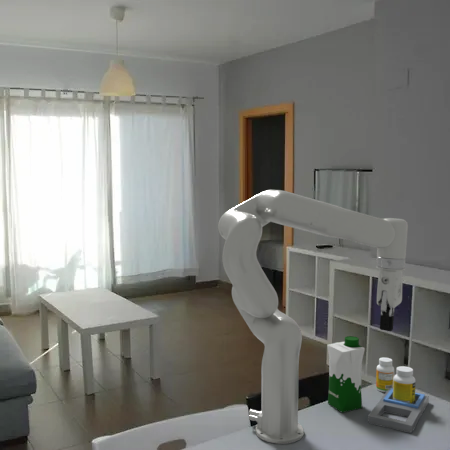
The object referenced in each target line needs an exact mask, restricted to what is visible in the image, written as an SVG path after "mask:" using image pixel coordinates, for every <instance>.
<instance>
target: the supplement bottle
mask: <svg viewBox="0 0 450 450" xmlns="http://www.w3.org/2000/svg"><path fill="white" fill-rule="evenodd" d="M375 374H376V375H375V389H376V390H377V391H378V392H382V393H386V392H387V391H388V389H389V388H390V389H392V388H393V378H394V376H395V367H394V366H393V359H392V358H389V357H386V356H385V357H383V356H382V357H380V358H379V359H378V364H377V366H376V373H375Z"/></svg>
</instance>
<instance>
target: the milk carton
mask: <svg viewBox="0 0 450 450" xmlns="http://www.w3.org/2000/svg"><path fill="white" fill-rule="evenodd" d="M327 351H328V358H329V363H328V365H329V366H328V367H329V370H328V373H329V374H328V375H329V376H328V394H327V395H328V397H327V404H328V405H330V406H332V407H333V408H334V409H335V410H338V411H339V412H340V413H346V412H350V410H351V411H354V410H355V409H356V410H359V408H360V409H362V408H363V403H362V402H363V400H362V378H363V377H362V375H363V374H362V371H363V370H362V369H363V367H362V366H363V358H364V354H365V351H366V348H365V347H363V346H361V345H360V338H359V337H357V336H354V335H353V336H351V335H349V336H345V337H344V341H340V342H333V343H330V344H327Z"/></svg>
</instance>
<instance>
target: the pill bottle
mask: <svg viewBox="0 0 450 450" xmlns="http://www.w3.org/2000/svg"><path fill="white" fill-rule="evenodd" d="M395 370H396V371H395V372H396V374H394V378H393V400H397V401H401V402H406V403H411V404H415V403H416V402H415V393H416V383H417V381H416V377H414V369H413V368H412V367H410V366H406V365H405V366H404V365H402V366H401V365H400V366H397V367H396V369H395Z"/></svg>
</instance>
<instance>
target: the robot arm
mask: <svg viewBox="0 0 450 450" xmlns="http://www.w3.org/2000/svg"><path fill="white" fill-rule="evenodd" d="M269 223H273V224H274V223H275V224H278V225H282V226H284V227H285V226H286V227H289V228H292V229H296V230H300V231H304V232H308V233H311V234H314V235H319V236H323V237H328V238H336V239H342V240H346V241H351V242H354V243H357V244H359V245H364V246H369V247H372V248H376V249H377V251H376V265H375V268H376V269H377V270H378V279H377V290H376V304H377V305H378V306H380V318H379V319H380V321H379V329H380V330H381V331H386V332H392V331H393V330H394V322H395V321H394V320H395V308H396V307H397V306H399V305H400V304H401V303H402V301H403V272H404V271H406V259H407V258H406V256H407V243H408V230H409V225H408V224H409V223H408V221H406V220H405V219H403V218H395V217H394V218H393V217H385V218H380V217H378V216H377V217H376V216H374V215H369V214H366V213H364V212H363V213H362V212H360V211H355V210H352V209H349V208H344V207H341V206H340V205H336V204H333V203H329V202H325V201H322V200H318V199H314V198H311V197H309V196H304V195H302V194H297V193H293V192H290V191H286V190H281V189H267V190H264V191H261V192H260V193H257V194H255V195H254V196H252V197H251V198H249V199H247V200H245V201H243V202H242V203H240V204H238V205H235V206H234V207H232V208H230V209H229V210H227V211H225V212H224V213H223V214H222V215H221V216H220V218H219V221H218V225H217V229H218V232H219V235H220V236H221V238H222V239H224V240H225V241H224V244H223V249H222V254H221V255H222V258H221V259H222V266H223V269H224V272H225V274H226V276H227V277H228V279H229V281H230V283H231V284H232V287H231V297H232V301H233V304H234V305H235V307H236V309H237V310H238V312H239V314H240V316H241V317H242V319H243V320H244V322H245V323H246V326H248V328H249V330H250V332H252V334H253V336H255V337H256V338H257V339H258V340H259V341H260V342H261V343H263V345H264V350H263V354H262V355H263V356H262V360H261V374H260V375H261V400H260V401H261V402H260V403H261V409H260V410H257V409H253V408H250V409H249V412H248V414H249V415H248V416H249V417H248V420H250V421H252V422H256V423H257V424H256V426H255V430H254V431H255V434H256V436H257V437H258V438H259V439H261V440H263V441H265V442H267V443H271V444H277V445H279V444H280V445H283V444H285V445H287V444H292V443H296V442H297V441H300V440H301V439H302V438H303V437H304V434H305V433H304V432H305V429H304V427H303V425H301V423H299V364H300V363H299V361H300V354H301V353H300V351H301V347H302V342H303V340H302V338H303V335H302V331H301V328H300V326H299V324H298V323H297V321H296V320H294V318H292V317H290V316H289V315H288V314H286V313H284V312H283V311H281V310H279V308H278V307H279V297H278V293H277V291H276V290H275V288H274V286H273V285H272V283H271V282H270V280H269V278H268V277H267V275H266V273H265V272H264V270H263V269H262V266H261V264H260V262H259V259H258V256H257V249H258V245H259V244H260V241H261V239H262V235H263V227H265V226H266V225H267V224H269Z"/></svg>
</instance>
